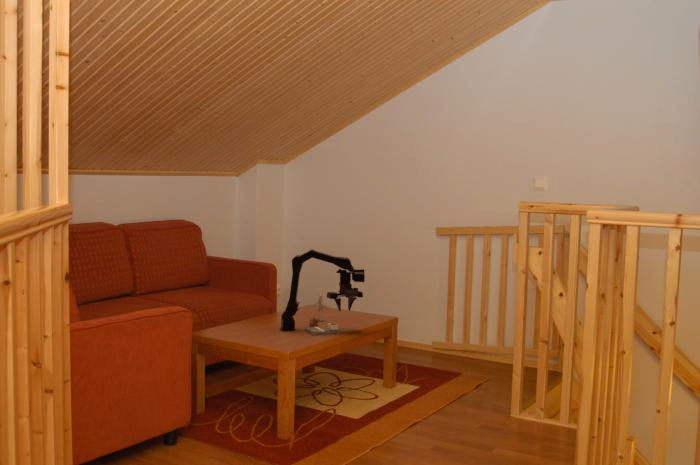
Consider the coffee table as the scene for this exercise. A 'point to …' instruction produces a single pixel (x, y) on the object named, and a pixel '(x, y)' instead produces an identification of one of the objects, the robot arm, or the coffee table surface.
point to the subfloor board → (321, 330)
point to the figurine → (320, 305)
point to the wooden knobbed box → (313, 322)
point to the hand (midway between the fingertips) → (344, 310)
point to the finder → (332, 326)
